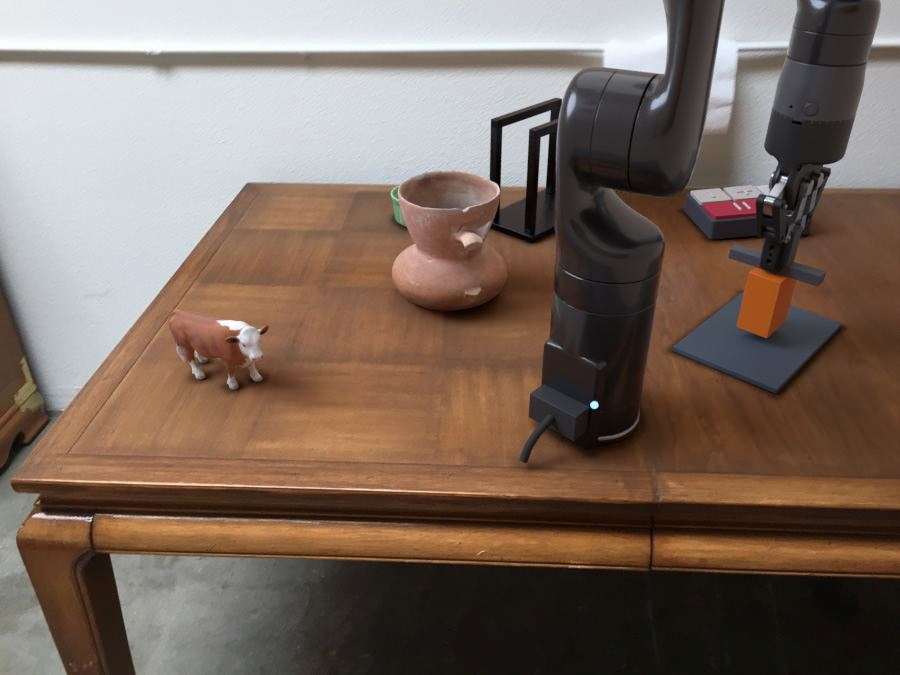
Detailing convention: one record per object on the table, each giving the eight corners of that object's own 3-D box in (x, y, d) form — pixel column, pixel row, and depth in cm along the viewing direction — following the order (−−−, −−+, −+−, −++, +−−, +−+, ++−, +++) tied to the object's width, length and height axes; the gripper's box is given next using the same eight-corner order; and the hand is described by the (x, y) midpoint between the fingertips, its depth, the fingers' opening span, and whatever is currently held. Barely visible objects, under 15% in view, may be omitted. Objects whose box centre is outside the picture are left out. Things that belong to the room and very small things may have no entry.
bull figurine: (260, 409, 78) (249, 341, 73) (170, 370, 84) (154, 305, 79) (290, 387, 81) (280, 321, 76) (200, 351, 87) (187, 288, 83)
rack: (531, 243, 110) (537, 133, 102) (479, 224, 116) (481, 119, 108) (598, 209, 121) (609, 107, 112) (547, 193, 127) (554, 94, 118)
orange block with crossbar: (795, 349, 83) (824, 247, 77) (710, 317, 89) (729, 219, 82) (813, 331, 86) (842, 231, 80) (729, 301, 92) (750, 206, 85)
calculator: (685, 188, 118) (780, 179, 119) (682, 214, 120) (776, 205, 121) (712, 216, 109) (815, 207, 110) (709, 244, 111) (809, 234, 112)
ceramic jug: (529, 315, 93) (535, 205, 86) (415, 337, 89) (411, 224, 82) (475, 253, 108) (476, 155, 100) (375, 270, 103) (368, 169, 96)
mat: (775, 394, 79) (777, 389, 79) (671, 351, 86) (672, 346, 86) (840, 327, 90) (842, 323, 90) (744, 293, 97) (744, 289, 97)
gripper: (804, 86, 81) (768, 236, 90) (745, 114, 72) (713, 277, 81) (879, 98, 76) (834, 255, 86) (826, 131, 68) (782, 301, 77)
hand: (775, 265), depth 83 cm, fingers closed on orange block with crossbar
